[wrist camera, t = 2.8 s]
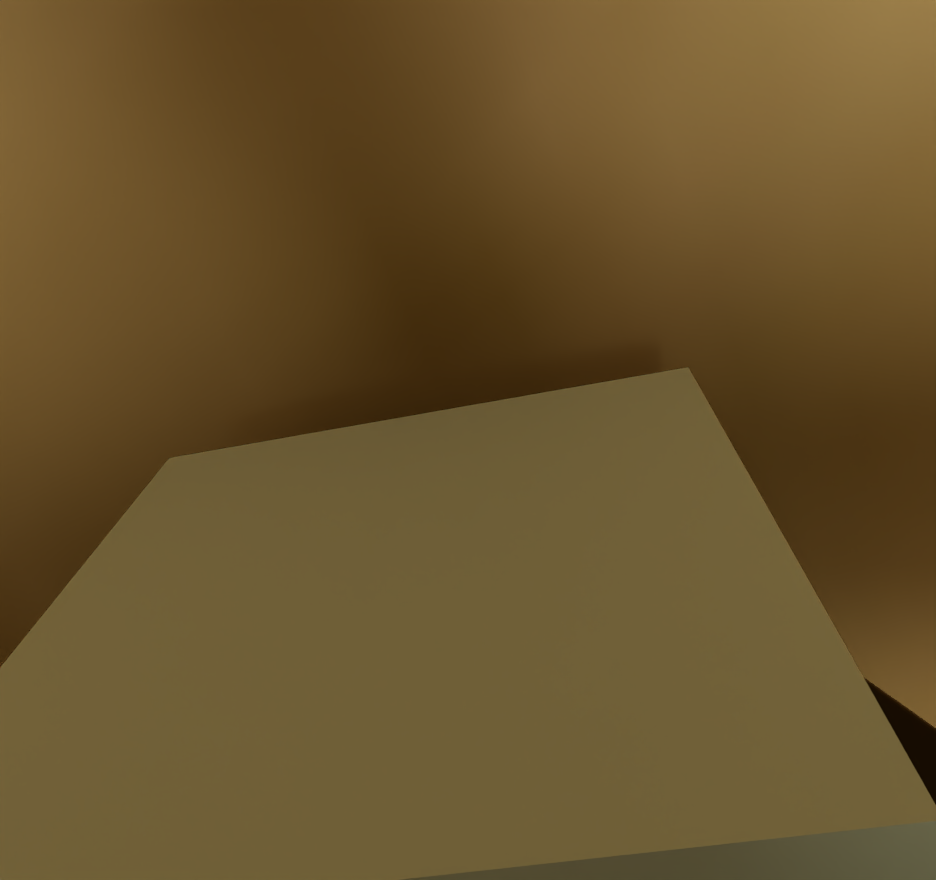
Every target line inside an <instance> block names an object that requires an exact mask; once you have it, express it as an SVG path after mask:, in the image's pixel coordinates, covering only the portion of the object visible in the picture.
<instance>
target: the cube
mask: <svg viewBox="0 0 936 880" xmlns="http://www.w3.org/2000/svg"><path fill="white" fill-rule="evenodd" d="M0 880H936V805H935V803H934V801H933V799H932V798H931V796H930V794H929V792H928V791H927V789H926V787H925V785H924V783H923V782H922V780H921V778H920V776H919V775H918V773H917V771H916V769H915V768H914V766H913V764H912V762H911V760H910V759H909V757H908V755H907V753H906V752H905V750H904V748H903V746H902V745H901V743H900V741H899V739H898V737H897V736H896V734H895V732H894V730H893V729H892V727H891V725H890V723H889V722H888V720H887V718H886V716H885V714H884V713H883V711H882V709H881V707H880V706H879V704H878V702H877V700H876V698H875V697H874V695H873V693H872V691H871V690H870V688H869V686H868V684H867V683H866V681H865V679H864V677H863V675H862V674H861V672H860V670H859V668H858V667H857V665H856V663H855V661H854V660H853V658H852V656H851V654H850V652H849V651H848V649H847V647H846V645H845V644H844V642H843V640H842V638H841V637H840V635H839V633H838V631H837V629H836V628H835V626H834V624H833V622H832V621H831V619H830V617H829V615H828V613H827V612H826V610H825V608H824V606H823V605H822V603H821V601H820V599H819V598H818V596H817V594H816V592H815V590H814V589H813V587H812V585H811V583H810V582H809V580H808V578H807V576H806V575H805V573H804V571H803V569H802V567H801V566H800V564H799V562H798V560H797V559H796V557H795V555H794V553H793V552H792V550H791V548H790V546H789V544H788V543H787V541H786V539H785V537H784V536H783V534H782V532H781V530H780V529H779V527H778V525H777V523H776V521H775V520H774V518H773V516H772V514H771V513H770V511H769V509H768V507H767V505H766V504H765V502H764V500H763V498H762V497H761V495H760V493H759V491H758V490H757V488H756V486H755V484H754V482H753V481H752V479H751V477H750V475H749V474H748V472H747V470H746V468H745V467H744V465H743V463H742V461H741V459H740V458H739V456H738V454H737V452H736V451H735V449H734V447H733V445H732V444H731V442H730V440H729V438H728V436H727V435H726V433H725V431H724V429H723V428H722V426H721V424H720V422H719V420H718V419H717V417H716V415H715V413H714V412H713V410H712V408H711V406H710V405H709V403H708V401H707V399H706V397H705V396H704V394H703V392H702V390H701V389H700V387H699V385H698V383H697V382H696V380H695V378H694V376H693V374H692V373H691V371H690V369H689V367H686V368H681V369H675V370H669V371H663V372H658V373H652V374H646V375H640V376H635V377H629V378H623V379H618V380H612V381H606V382H600V383H595V384H589V385H583V386H578V387H572V388H566V389H560V390H555V391H549V392H543V393H538V394H532V395H526V396H520V397H515V398H509V399H503V400H498V401H492V402H486V403H480V404H475V405H469V406H463V407H458V408H452V409H446V410H440V411H435V412H429V413H423V414H417V415H412V416H406V417H400V418H395V419H389V420H383V421H377V422H372V423H366V424H360V425H355V426H349V427H343V428H337V429H332V430H326V431H320V432H315V433H309V434H303V435H297V436H292V437H286V438H280V439H275V440H269V441H263V442H257V443H252V444H246V445H240V446H234V447H229V448H223V449H217V450H212V451H206V452H200V453H194V454H189V455H183V456H177V457H172V458H169V459H168V460H167V461H166V462H165V464H164V465H163V466H162V467H161V469H160V470H159V471H158V472H157V474H156V475H155V476H154V477H153V479H152V480H151V481H150V482H149V484H148V485H147V486H146V487H145V489H144V490H143V491H142V492H141V494H140V495H139V496H138V497H137V498H136V500H135V501H134V502H133V503H132V505H131V506H130V507H129V508H128V510H127V511H126V512H125V513H124V515H123V516H122V517H121V518H120V520H119V521H118V522H117V523H116V525H115V526H114V527H113V528H112V529H111V531H110V532H109V533H108V534H107V536H106V537H105V538H104V539H103V541H102V542H101V543H100V544H99V546H98V547H97V548H96V549H95V551H94V552H93V553H92V554H91V556H90V557H89V558H88V559H87V561H86V562H85V563H84V564H83V565H82V567H81V568H80V569H79V570H78V572H77V573H76V574H75V575H74V577H73V578H72V579H71V580H70V582H69V583H68V584H67V585H66V587H65V588H64V589H63V590H62V592H61V593H60V594H59V595H58V597H57V598H56V599H55V600H54V601H53V603H52V604H51V605H50V606H49V608H48V609H47V610H46V611H45V613H44V614H43V615H42V616H41V618H40V619H39V620H38V621H37V623H36V624H35V625H34V626H33V628H32V629H31V630H30V631H29V633H28V634H27V635H26V636H25V637H24V639H23V640H22V641H21V642H20V644H19V645H18V646H17V647H16V649H15V650H14V651H13V652H12V654H11V655H10V656H9V657H8V659H7V660H6V661H5V662H4V664H3V665H2V666H1V667H0Z"/></svg>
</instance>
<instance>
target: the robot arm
mask: <svg viewBox="0 0 936 880" xmlns="http://www.w3.org/2000/svg"><path fill="white" fill-rule="evenodd" d="M864 679H865V678H864ZM865 681H866V683H867V684H868V686H869V688H870V690H871V691H872V693H873V695H874V697H875V698H876V700H877V702H878V704H879V706H880V707H881V709H882V711H883V713H884V714H885V716H886V718H887V720H888V722H889V723H890V725H891V727H892V729H893V730H894V732H895V734H896V736H897V737H898V739H899V741H900V743H901V745H902V746H903V748H904V750H905V752H906V753H907V755H908V757H909V759H910V760H911V762H912V764H913V766H914V768H915V769H916V771H917V773H918V775H919V776H920V778H921V780H922V782H923V783H924V785H925V787H926V789H927V791H928V792H929V794H930V796H931V798H932V799H933V801H934V803H935V805H936V728H934V727H933V726H932V725H930V724H929V723H927V722H926V721H925V720H923V719H922V718H920V717H919V716H918V715H916V714H915V713H913V712H912V711H911V710H909V709H908V708H906V707H905V706H903V705H902V704H901V703H899V702H898V701H896V700H895V699H894V698H892V697H891V696H889V695H888V694H887V693H885V692H884V691H882V690H881V689H880V688H878V687H877V686H875V685H874V684H873V683H871V682H870V681H868V680H867V679H865Z"/></svg>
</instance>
